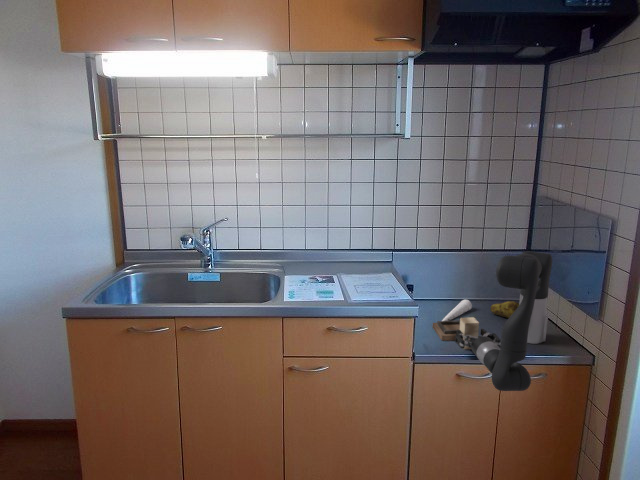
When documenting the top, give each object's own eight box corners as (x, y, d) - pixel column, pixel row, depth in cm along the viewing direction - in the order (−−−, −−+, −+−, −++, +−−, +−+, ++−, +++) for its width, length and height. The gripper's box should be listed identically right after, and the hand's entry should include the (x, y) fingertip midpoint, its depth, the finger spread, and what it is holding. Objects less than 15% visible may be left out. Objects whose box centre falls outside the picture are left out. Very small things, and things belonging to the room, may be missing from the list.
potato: (503, 311, 208) (505, 293, 207) (524, 322, 197) (526, 303, 195) (487, 313, 206) (488, 295, 204) (507, 325, 194) (509, 306, 192)
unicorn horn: (430, 323, 197) (431, 312, 196) (462, 308, 213) (462, 297, 212) (440, 326, 194) (441, 315, 193) (472, 311, 210) (472, 300, 209)
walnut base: (462, 326, 193) (462, 318, 192) (473, 339, 181) (474, 331, 181) (432, 327, 192) (432, 319, 192) (441, 340, 181) (442, 332, 180)
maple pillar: (472, 342, 179) (473, 317, 177) (477, 348, 174) (479, 322, 172) (458, 343, 179) (460, 317, 176) (463, 349, 174) (465, 323, 171)
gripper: (510, 341, 158) (490, 321, 174) (467, 342, 157) (450, 322, 173) (508, 362, 160) (488, 340, 175) (466, 363, 159) (449, 342, 175)
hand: (469, 331), depth 174 cm, fingers open, 8 cm apart
